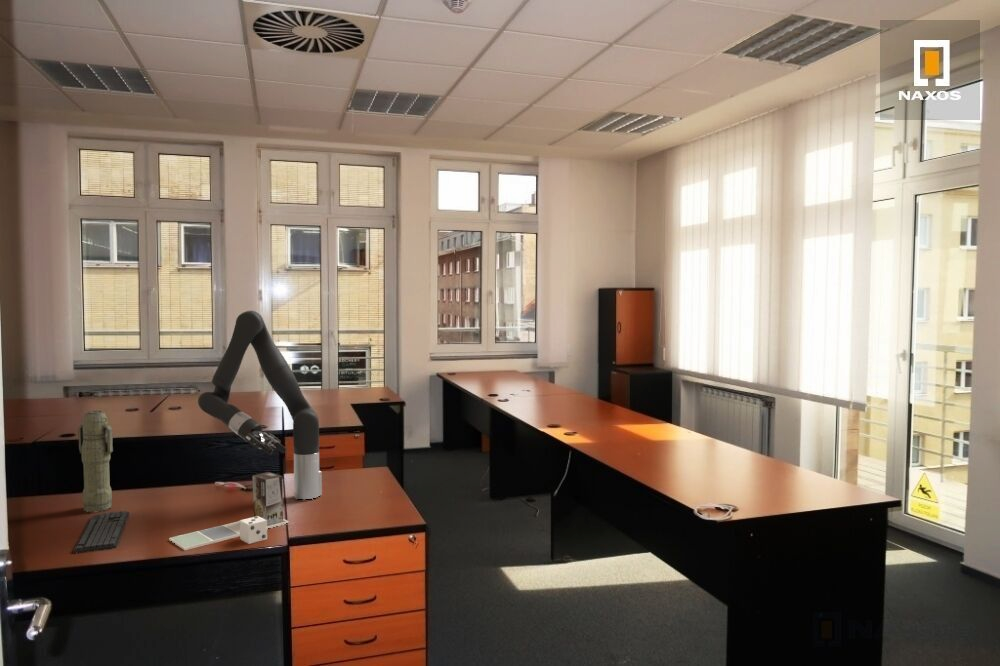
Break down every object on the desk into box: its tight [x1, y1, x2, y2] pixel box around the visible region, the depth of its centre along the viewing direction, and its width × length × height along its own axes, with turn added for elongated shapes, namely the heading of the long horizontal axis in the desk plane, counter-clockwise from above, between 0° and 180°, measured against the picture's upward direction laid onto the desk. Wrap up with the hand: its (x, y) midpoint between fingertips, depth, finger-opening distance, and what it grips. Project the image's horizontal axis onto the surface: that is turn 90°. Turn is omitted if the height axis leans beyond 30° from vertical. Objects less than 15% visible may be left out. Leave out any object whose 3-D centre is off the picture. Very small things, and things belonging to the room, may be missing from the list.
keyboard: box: [73, 510, 130, 554], centre depth 222 cm, size 35×11×2 cm, turn 23°
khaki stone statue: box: [77, 410, 114, 512], centre depth 245 cm, size 9×12×35 cm
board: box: [169, 518, 290, 551], centre depth 222 cm, size 34×12×1 cm, turn 136°
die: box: [239, 516, 268, 545], centre depth 216 cm, size 6×6×6 cm
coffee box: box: [252, 471, 284, 526], centre depth 231 cm, size 9×6×16 cm
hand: (278, 451), depth 243 cm, fingers open, 8 cm apart
